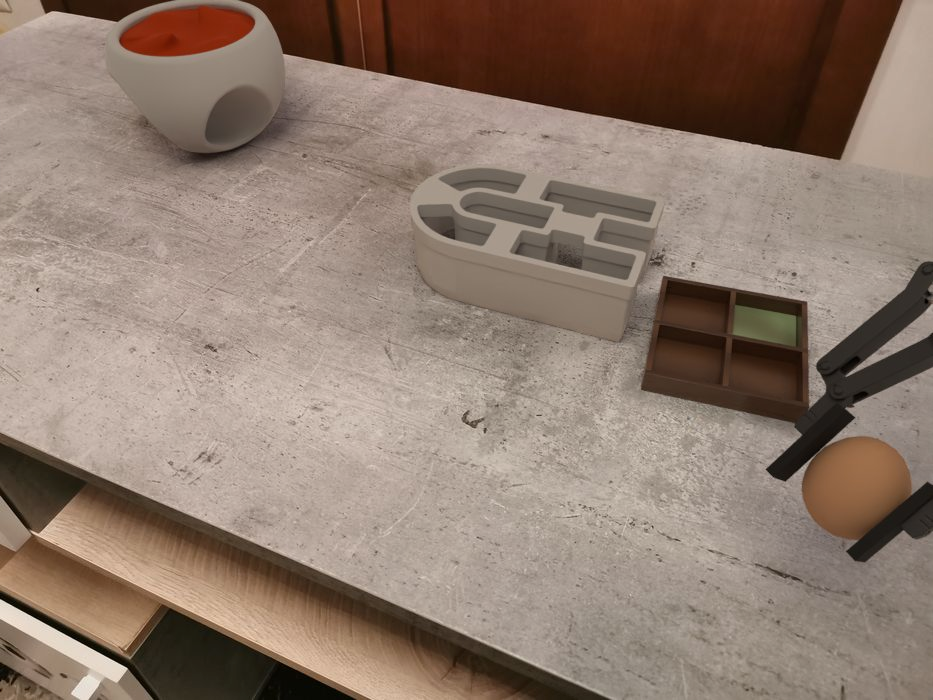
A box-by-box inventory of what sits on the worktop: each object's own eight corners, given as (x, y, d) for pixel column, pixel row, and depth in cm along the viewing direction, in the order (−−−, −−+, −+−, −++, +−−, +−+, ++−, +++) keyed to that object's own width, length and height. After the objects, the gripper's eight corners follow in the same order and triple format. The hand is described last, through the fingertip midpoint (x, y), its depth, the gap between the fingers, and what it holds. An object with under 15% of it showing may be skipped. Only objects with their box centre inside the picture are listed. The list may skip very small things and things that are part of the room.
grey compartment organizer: (622, 347, 80) (633, 287, 73) (391, 287, 87) (384, 228, 81) (653, 257, 90) (666, 198, 84) (445, 210, 98) (443, 153, 91)
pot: (315, 102, 119) (295, -12, 106) (270, 185, 103) (240, 61, 90) (175, 96, 121) (139, -17, 108) (109, 176, 105) (58, 54, 92)
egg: (779, 535, 52) (818, 469, 46) (797, 468, 56) (835, 399, 50) (876, 575, 49) (930, 510, 43) (888, 502, 53) (939, 434, 47)
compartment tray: (800, 424, 72) (809, 407, 70) (640, 389, 75) (644, 373, 74) (800, 318, 82) (807, 301, 81) (659, 292, 86) (663, 275, 84)
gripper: (1294, 372, 39) (947, 638, 46) (972, 192, 51) (734, 424, 58) (1326, 336, 34) (927, 644, 40) (956, 144, 45) (696, 406, 52)
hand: (814, 514), depth 49 cm, fingers closed on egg, 6 cm apart
